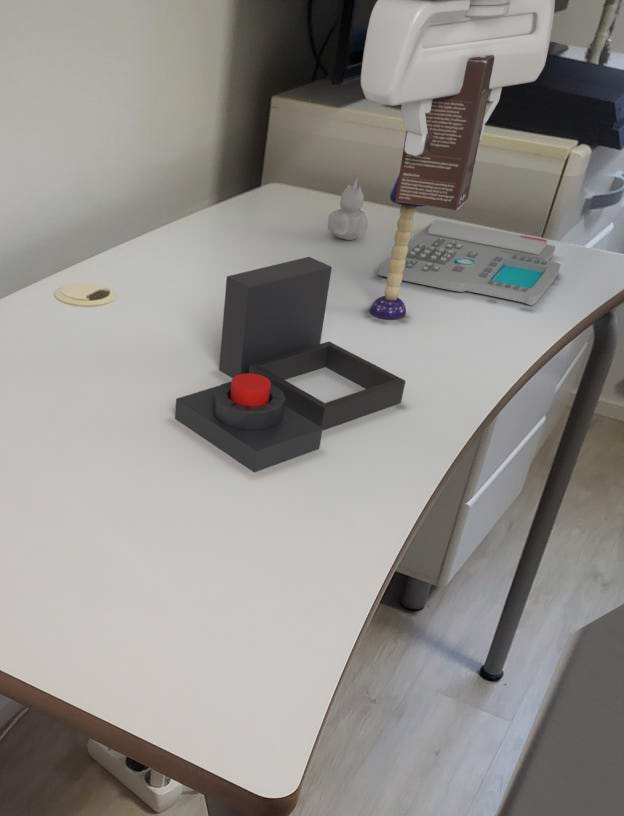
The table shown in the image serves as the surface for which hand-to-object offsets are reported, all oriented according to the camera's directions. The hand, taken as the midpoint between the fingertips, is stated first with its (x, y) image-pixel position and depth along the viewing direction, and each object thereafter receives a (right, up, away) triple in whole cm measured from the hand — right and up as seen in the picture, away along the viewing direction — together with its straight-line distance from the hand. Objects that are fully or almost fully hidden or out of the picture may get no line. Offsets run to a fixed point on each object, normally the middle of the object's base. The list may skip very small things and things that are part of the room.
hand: (442, 148), depth 87 cm
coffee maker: (-10, -18, +13) cm, 24 cm away
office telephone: (+18, +5, +42) cm, 46 cm away
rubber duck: (+1, +12, +49) cm, 50 cm away
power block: (-17, -25, +5) cm, 31 cm away
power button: (-17, -22, +3) cm, 28 cm away
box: (0, -4, +3) cm, 5 cm away
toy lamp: (+3, -5, +29) cm, 30 cm away
